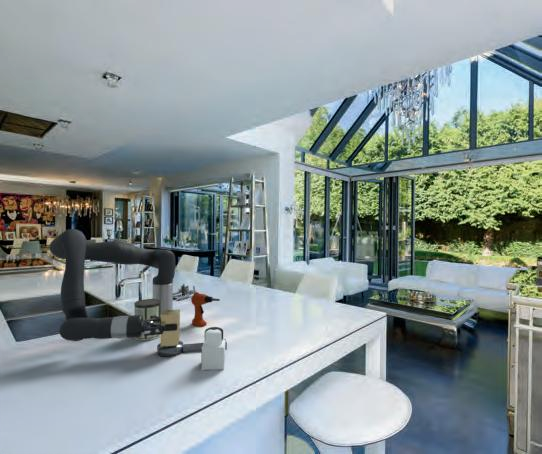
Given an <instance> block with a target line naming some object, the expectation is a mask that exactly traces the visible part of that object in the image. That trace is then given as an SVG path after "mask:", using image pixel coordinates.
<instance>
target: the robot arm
mask: <svg viewBox="0 0 542 454" xmlns="http://www.w3.org/2000/svg"><path fill="white" fill-rule="evenodd" d="M49 251H50V253H51V254H52V255H53V256H54V257H57V258H58V259H62V260H65V264H64V265H65V266H64V272H63V277H62V281H61V285H60V305H61V307H60V308H61V311H62V313H63V314H64V316H65V321H63V322H62V324H60V326H59V329H58V330H59V331H58V332H59V335H60V337H61V338H62V339H64V340H66V341H71V342H80V341H83V340H85V339H95V340H97V339H98V340H107V339H108V340H109V339H117V340H119V339H135V338H139V337H141V336H142V333H143V332H144V336H150V335H159V334H163V332H166V331H176V330H177V324H161V317H150V319H148V320H143V316H142V315H135V314H134V315H119V316H113V317H98V318H93V317H89V316H88V312H87V309H86V296H85V295H86V294H85V279H84V278H85V260H86V261H95V262H103V263H110V264H117V265H128V266H131V265H142V266H147V267H149V268H150V267H151V268H154V269H158V271H157V275H156V276H153V278H152V298H151V299H159V300H161V314H162V311H163V310H174V309H173V308H174V307H173V306H174V304H173V301H174V299H173V297H174V295H173V293H174V291H173V290H174V288H173V287H174V278H175V272H176V271H175V270H176V256H175V254H174V252H173V251H172V250H167V249H149V248H142V247H139V246H137V245H134V244H131V243H128V242H127V243H126V242H123V241H112V240H111V241H102V242H101V241H100V242H87V238H86V236H85V234H84V233H83V232H82V231H80V230H79V229H75V228H69V229H65V230H64V231H62V232H61V233H60V234H59V235H57V236H55V238H53V240H52V241H51V242H50V243H49Z"/></svg>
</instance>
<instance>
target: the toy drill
mask: <svg viewBox="0 0 542 454" xmlns="http://www.w3.org/2000/svg"><path fill="white" fill-rule="evenodd" d="M190 301H191V304H192V306H194V317H193V318H192V320H191V325H192V326H195V327H198V328H199V327H200V328H202V327H205V326H207V324H208V322H207V321H206V320H204V316H203V314H204V313H205V311H204V309H203V305H206V304H208V303H212V302H214V301H215V302H219V301H221V300H220V298H214V297H212V296H209V295H207V294H205V293H199V292H198V291H197V292H196V293H195V294H192V296H191V297H190Z"/></svg>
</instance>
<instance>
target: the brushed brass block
mask: <svg viewBox="0 0 542 454" xmlns="http://www.w3.org/2000/svg"><path fill="white" fill-rule="evenodd" d="M180 322H181V309H177V308H176V309H173V310H163V311H162V314H161V324H177V330H176V331H166V332H163V334H161V336H160V343H161V346H173V345H179V341H180V337H181V333H180V331H181V327H180V325H181V323H180Z"/></svg>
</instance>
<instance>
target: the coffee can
mask: <svg viewBox="0 0 542 454" xmlns="http://www.w3.org/2000/svg"><path fill="white" fill-rule="evenodd" d="M133 305H134V315H142V316H143V320H148V319H150V317H161V300H159V299H152V298H146V299H140V300H136V301H134V304H133ZM158 338H161V334H159V335H150V336H144V332H143V333H142V336H141V337H139V338H134V339H135V340H136V341H142V342H143V341H152V340H156V339H158Z"/></svg>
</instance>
